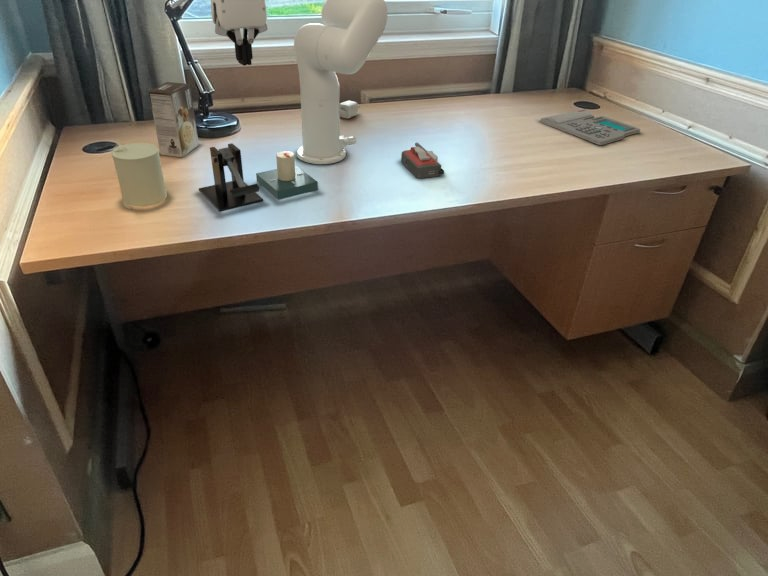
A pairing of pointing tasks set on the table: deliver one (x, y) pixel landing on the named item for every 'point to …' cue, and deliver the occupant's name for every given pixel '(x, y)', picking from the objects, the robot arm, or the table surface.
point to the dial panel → (287, 183)
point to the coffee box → (174, 118)
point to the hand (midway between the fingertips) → (244, 63)
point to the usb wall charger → (348, 109)
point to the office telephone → (591, 126)
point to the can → (139, 174)
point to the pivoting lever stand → (227, 183)
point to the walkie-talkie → (421, 162)
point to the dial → (285, 165)
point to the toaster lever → (236, 175)
